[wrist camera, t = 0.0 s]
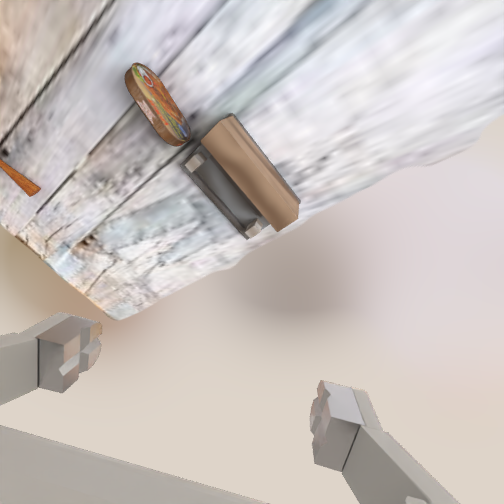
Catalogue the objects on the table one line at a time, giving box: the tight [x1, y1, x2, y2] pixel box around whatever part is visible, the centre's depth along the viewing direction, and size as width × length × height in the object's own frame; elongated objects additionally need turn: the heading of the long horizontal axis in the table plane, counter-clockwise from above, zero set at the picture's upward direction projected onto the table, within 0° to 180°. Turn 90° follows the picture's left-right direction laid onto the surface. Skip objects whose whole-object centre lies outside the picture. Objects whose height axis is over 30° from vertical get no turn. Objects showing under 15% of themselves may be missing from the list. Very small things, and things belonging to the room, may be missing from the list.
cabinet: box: [180, 113, 301, 240], centre depth 55 cm, size 16×23×10 cm
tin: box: [125, 63, 191, 146], centre depth 50 cm, size 15×3×8 cm, turn 31°
